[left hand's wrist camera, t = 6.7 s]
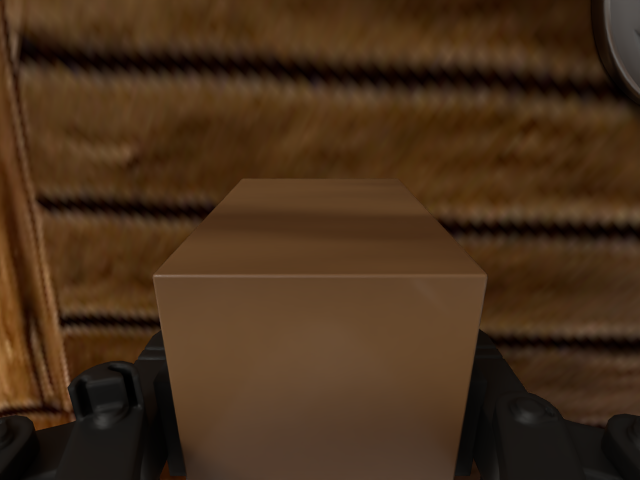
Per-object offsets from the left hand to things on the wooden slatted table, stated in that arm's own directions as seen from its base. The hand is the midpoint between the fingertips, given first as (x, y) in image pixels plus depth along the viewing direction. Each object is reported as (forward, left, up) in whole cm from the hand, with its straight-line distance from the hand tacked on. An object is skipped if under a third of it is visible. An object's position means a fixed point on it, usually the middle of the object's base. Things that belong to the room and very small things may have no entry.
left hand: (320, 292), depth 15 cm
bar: (0, +9, -1) cm, 9 cm away
